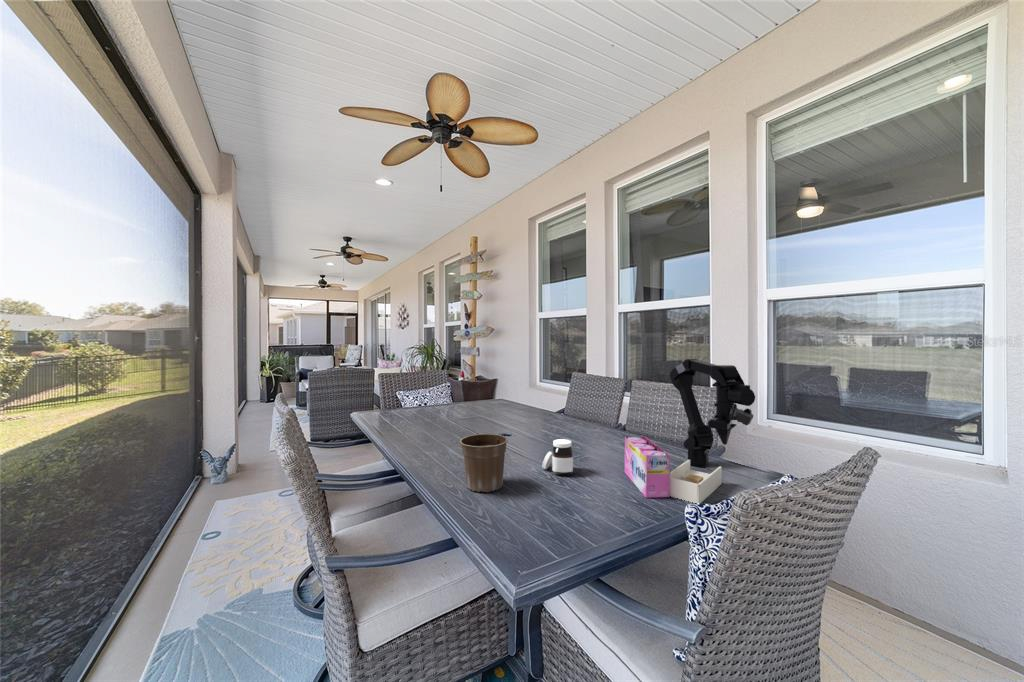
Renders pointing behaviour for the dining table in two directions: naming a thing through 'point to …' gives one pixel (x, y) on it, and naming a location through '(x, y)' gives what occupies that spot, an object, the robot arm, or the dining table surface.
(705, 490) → the channel
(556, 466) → the spread jar
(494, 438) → the plant pot
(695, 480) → the oak block
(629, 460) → the gum box
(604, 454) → the dining table surface
